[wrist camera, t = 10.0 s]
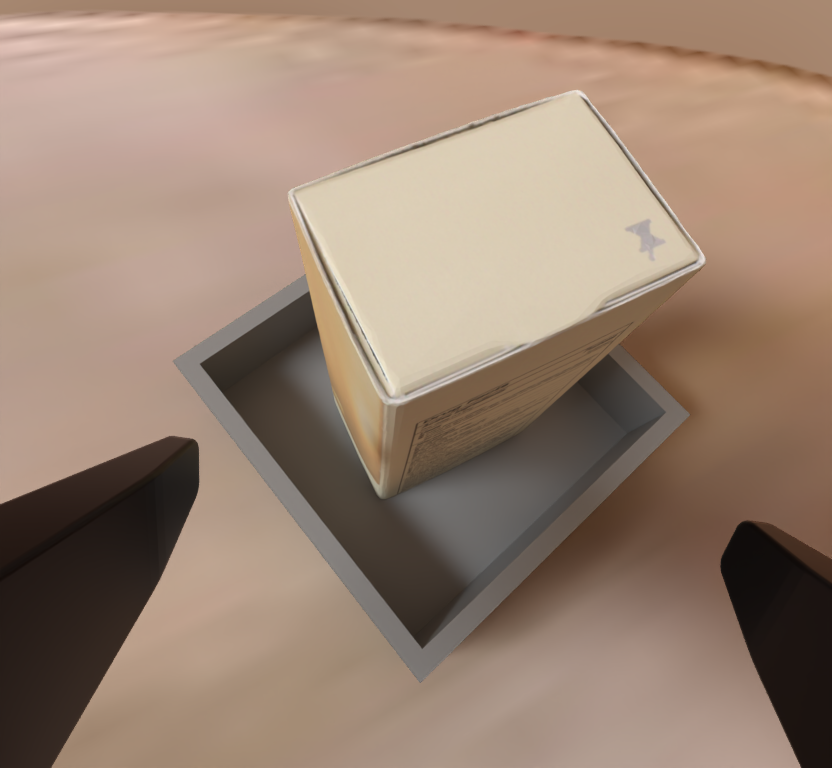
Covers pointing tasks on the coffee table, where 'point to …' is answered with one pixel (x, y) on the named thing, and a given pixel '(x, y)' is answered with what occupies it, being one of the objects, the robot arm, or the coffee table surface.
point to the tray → (433, 499)
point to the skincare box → (480, 279)
